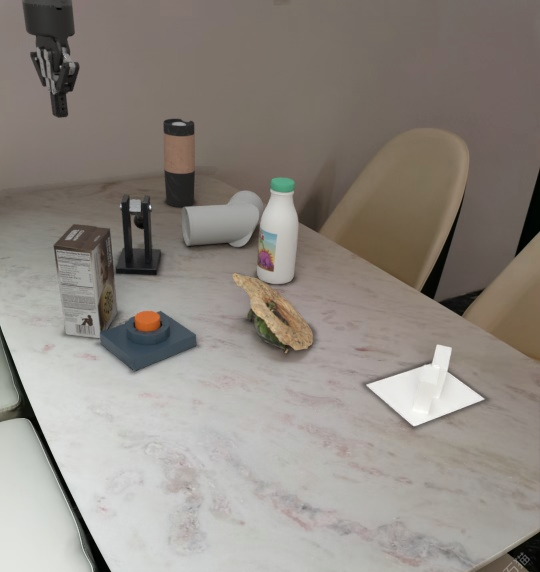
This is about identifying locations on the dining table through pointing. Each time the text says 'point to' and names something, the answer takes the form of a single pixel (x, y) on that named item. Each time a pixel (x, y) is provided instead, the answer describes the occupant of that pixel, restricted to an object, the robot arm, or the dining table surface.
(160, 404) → the dining table surface
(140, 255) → the bracket
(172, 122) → the travel mug
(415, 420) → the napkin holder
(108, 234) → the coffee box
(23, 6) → the robot arm
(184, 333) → the button box
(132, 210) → the lever
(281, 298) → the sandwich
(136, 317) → the button
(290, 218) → the milk bottle
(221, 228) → the elbow connector
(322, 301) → the dining table surface
